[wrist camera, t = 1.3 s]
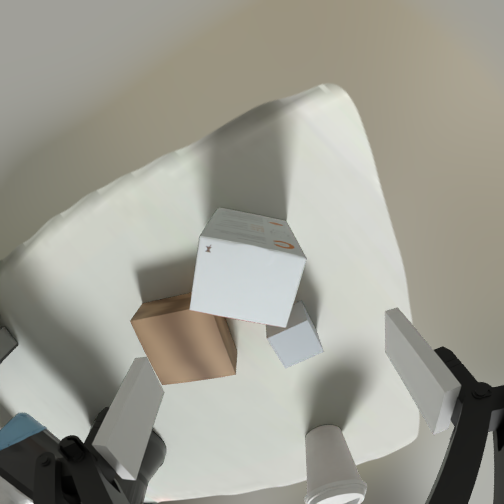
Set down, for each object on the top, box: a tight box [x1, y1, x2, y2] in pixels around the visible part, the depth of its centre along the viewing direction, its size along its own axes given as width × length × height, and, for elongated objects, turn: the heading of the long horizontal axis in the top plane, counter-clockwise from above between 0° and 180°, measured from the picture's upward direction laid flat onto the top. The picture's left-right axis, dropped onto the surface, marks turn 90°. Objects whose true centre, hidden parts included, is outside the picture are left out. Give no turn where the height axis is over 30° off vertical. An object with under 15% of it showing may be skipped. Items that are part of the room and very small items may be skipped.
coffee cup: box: [304, 425, 367, 504], centre depth 38 cm, size 10×10×15 cm
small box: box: [190, 208, 307, 328], centre depth 29 cm, size 8×6×13 cm
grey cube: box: [266, 301, 324, 368], centre depth 36 cm, size 5×5×5 cm
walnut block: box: [130, 293, 237, 385], centre depth 37 cm, size 10×10×5 cm
